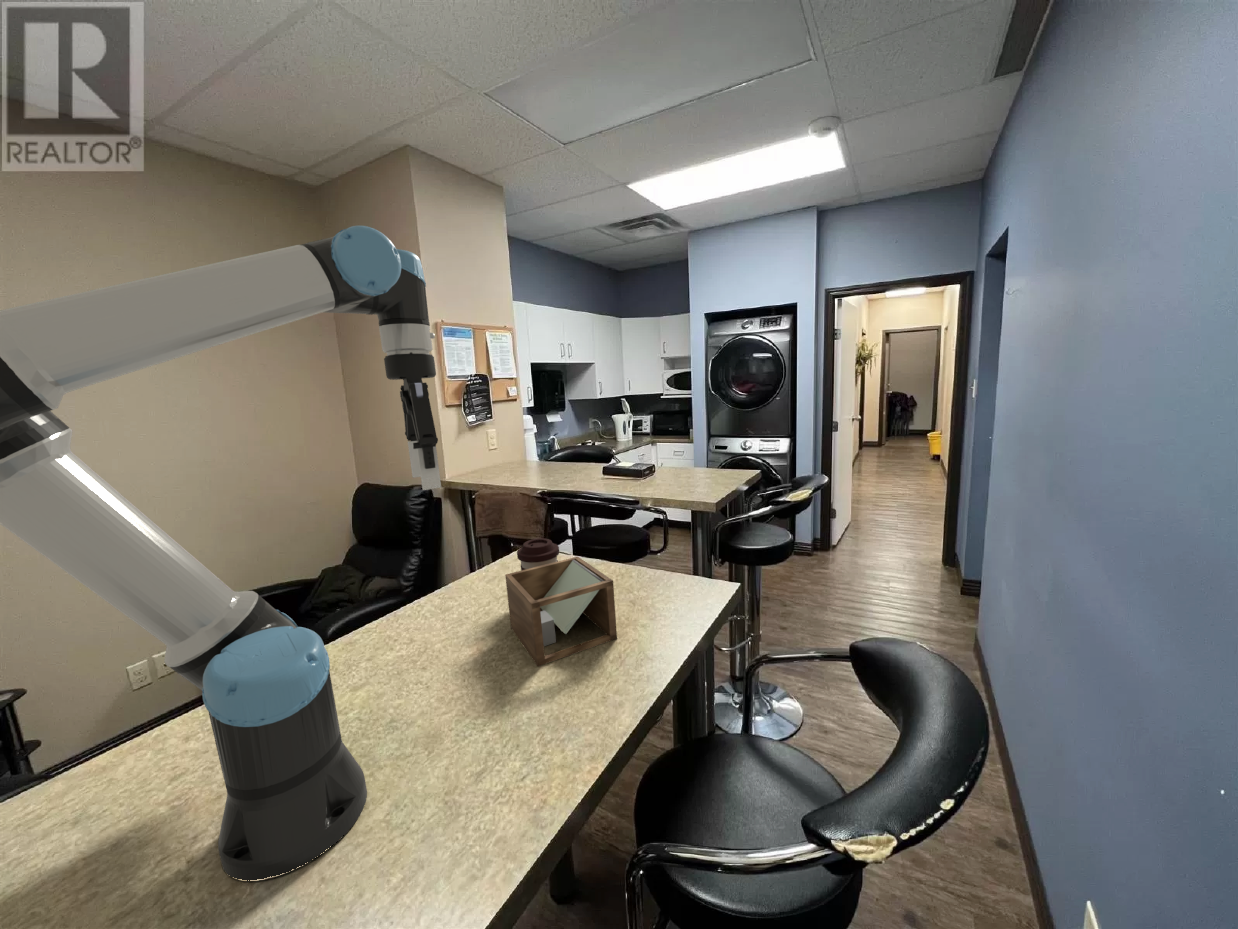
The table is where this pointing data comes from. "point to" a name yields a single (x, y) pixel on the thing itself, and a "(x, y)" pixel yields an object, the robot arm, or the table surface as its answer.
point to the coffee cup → (537, 553)
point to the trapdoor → (572, 607)
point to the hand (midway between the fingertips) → (425, 482)
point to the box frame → (529, 597)
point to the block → (547, 628)
